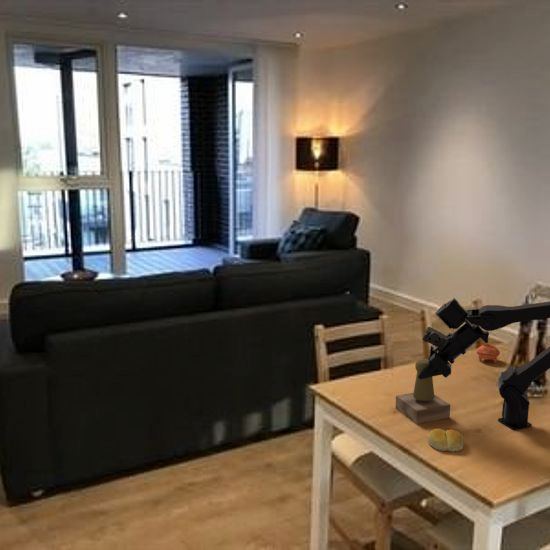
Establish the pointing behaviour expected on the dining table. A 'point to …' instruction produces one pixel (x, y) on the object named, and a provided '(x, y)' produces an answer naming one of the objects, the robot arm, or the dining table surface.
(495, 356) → the pot
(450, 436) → the bread roll
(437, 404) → the walnut block
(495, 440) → the dining table surface
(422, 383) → the cork
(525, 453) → the dining table surface
